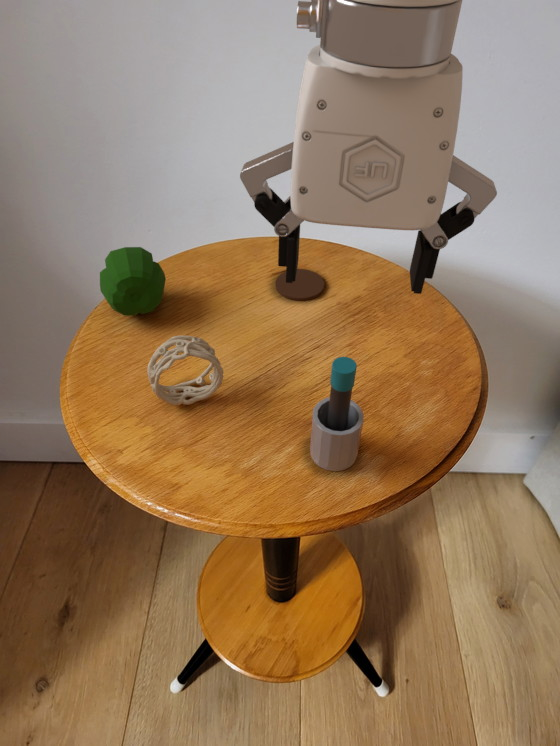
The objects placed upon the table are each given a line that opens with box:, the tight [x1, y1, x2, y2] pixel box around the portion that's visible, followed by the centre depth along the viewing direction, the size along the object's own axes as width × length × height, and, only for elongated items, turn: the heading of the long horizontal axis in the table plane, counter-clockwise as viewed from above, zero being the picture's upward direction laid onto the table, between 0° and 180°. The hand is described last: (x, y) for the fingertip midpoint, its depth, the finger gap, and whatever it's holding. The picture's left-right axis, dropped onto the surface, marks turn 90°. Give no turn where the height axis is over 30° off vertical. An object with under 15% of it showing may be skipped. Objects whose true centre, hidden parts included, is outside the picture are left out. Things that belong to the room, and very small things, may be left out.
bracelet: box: [146, 335, 224, 406], centre depth 63 cm, size 4×8×8 cm, turn 112°
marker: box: [327, 356, 358, 431], centre depth 55 cm, size 2×2×12 cm
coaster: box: [274, 268, 325, 302], centre depth 81 cm, size 7×7×1 cm
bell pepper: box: [99, 246, 167, 317], centre depth 75 cm, size 8×8×10 cm
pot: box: [309, 396, 365, 472], centre depth 58 cm, size 5×5×6 cm
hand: (353, 277), depth 44 cm, fingers open, 9 cm apart
